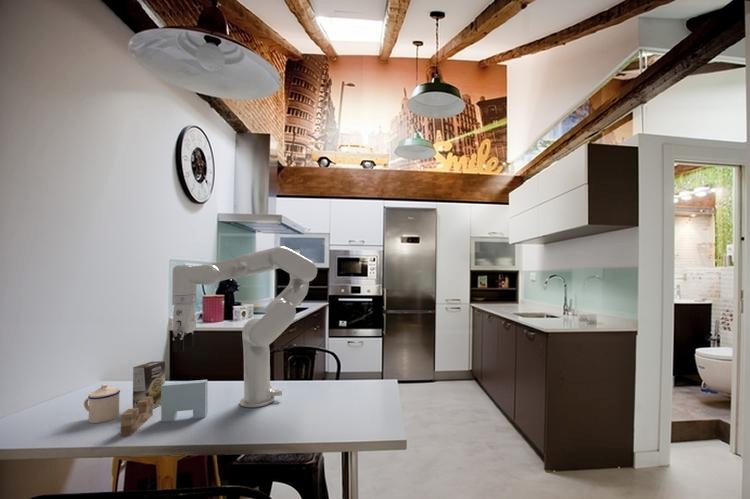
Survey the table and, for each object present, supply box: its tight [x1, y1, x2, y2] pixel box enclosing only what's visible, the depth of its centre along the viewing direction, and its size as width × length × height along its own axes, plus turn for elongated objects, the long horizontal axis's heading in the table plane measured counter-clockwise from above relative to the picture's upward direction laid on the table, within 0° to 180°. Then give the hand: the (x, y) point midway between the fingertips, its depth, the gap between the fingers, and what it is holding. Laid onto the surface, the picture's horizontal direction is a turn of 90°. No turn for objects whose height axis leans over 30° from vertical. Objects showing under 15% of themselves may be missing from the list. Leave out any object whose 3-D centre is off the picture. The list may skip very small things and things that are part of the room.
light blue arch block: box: [160, 379, 209, 423], centre depth 125 cm, size 14×3×12 cm, turn 101°
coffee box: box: [132, 360, 166, 409], centre depth 137 cm, size 9×6×16 cm
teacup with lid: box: [83, 383, 121, 424], centre depth 127 cm, size 12×9×12 cm
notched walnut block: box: [120, 396, 154, 437], centre depth 121 cm, size 16×3×6 cm, turn 11°
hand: (183, 348), depth 127 cm, fingers open, 9 cm apart
